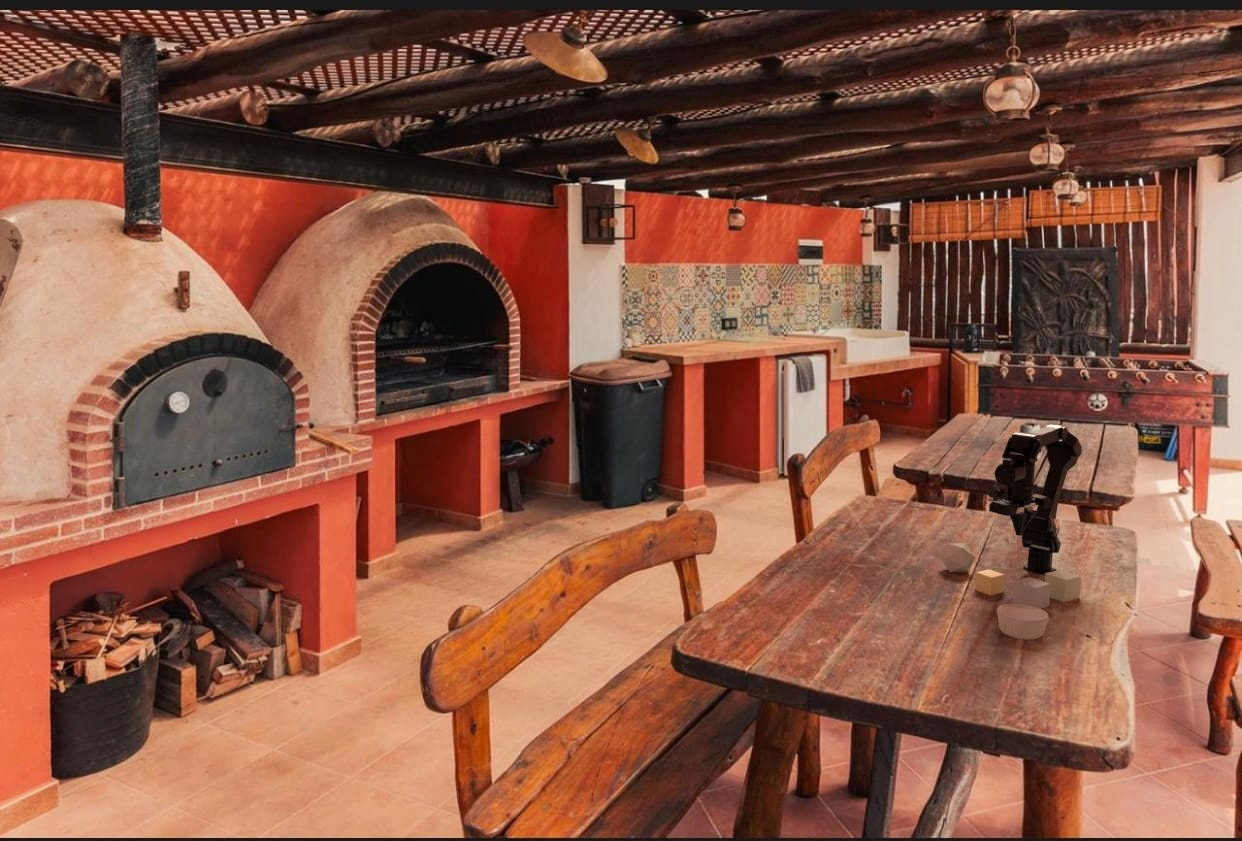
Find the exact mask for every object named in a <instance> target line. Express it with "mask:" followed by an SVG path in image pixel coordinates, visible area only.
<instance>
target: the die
mask: <svg viewBox="0 0 1242 841" xmlns="http://www.w3.org/2000/svg"><path fill="white" fill-rule="evenodd" d="M975 559H976V556H975V554H974V553H973V552H972V550H971V549H970V548H969V546H968V544H966V543H965V542H963V543H962V542H961V543H959V542H956V543H950V542H949V543H947V544H946V547H945V548H944V550H943V552H942V554H941V556H940V560H941V562H942V563H943V565H944V566H945V568H946V569H947V570H948V572H949V573H951V572H957V573H969V571H970V569H971V567H972V565H973V563H974V561H975Z"/></svg>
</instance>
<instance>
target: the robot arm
mask: <svg viewBox="0 0 1242 841" xmlns="http://www.w3.org/2000/svg"><path fill="white" fill-rule="evenodd" d="M1043 447H1045V450H1046V451H1047V452H1046V458H1047V461H1048V464H1049V467H1048V471H1047V475H1046V478H1045V480H1044V484H1043V487H1042V491H1041V494H1037V493H1034V489H1037V488H1038V483H1035V470H1036V463H1037V462H1039V461H1038V460H1039V459H1038V456H1039V455H1040V453H1041V452H1042V449H1043ZM1082 450H1083V449H1082V444H1081V442H1080V440H1079V439H1078V438H1077V437H1076V436H1075V435H1073V434H1072V433H1071V432H1070V431H1069V430H1068V428H1067V426H1064V425H1057V424H1049V425H1047V424H1046V426H1044V427H1042V428H1040V429H1037V430H1035V431H1032V432H1013V433H1012V434H1011V436H1009V438H1008V440H1007V443H1006V446H1005V448H1004V450H1003V453H1002V456H1001V458H1002V463H1001V464H999V465H997V466H996V467H995V470H994V478H995V480H996V481H997V482H998V483H999V484H1000V485H1003V486H1004V487H999V485H997V484H995V485H990V486H988V490H987V495H988V497H989V499H992V501H991V502H990V503H989V505H988V511H989V512H990V513H994V514H998V515H1001V516H1005V517H1007V516H1008V517H1010V519H1011V522H1012V526H1013V530H1014V532H1015V535H1016V536H1019V537H1020V536H1021V542H1022V547H1023V548H1027V549H1028V554H1027V563H1026V565H1023V566H1022V569H1025V570H1027V571H1031V572H1034V573H1037V574H1040V575H1045V573H1049V572H1053V571H1057V569H1056V568H1054V567H1052V566H1053V554H1059V551H1060V549H1061V545H1062V544H1061V541H1060V539H1059V537H1058V535H1057V530H1058V528H1057V524H1056V522H1055V514H1056V512H1057V508H1058V505H1059V501H1060V498H1061V495H1062V491H1063V488H1064V484H1065V481H1066V477H1067V474H1068V472H1069V471H1070V470H1071V469H1073V467H1075V465H1077V463H1078V460H1079V458H1080V457H1081V455H1082V452H1083V451H1082ZM1034 506H1037V507H1036V510H1035V509H1034Z"/></svg>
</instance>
